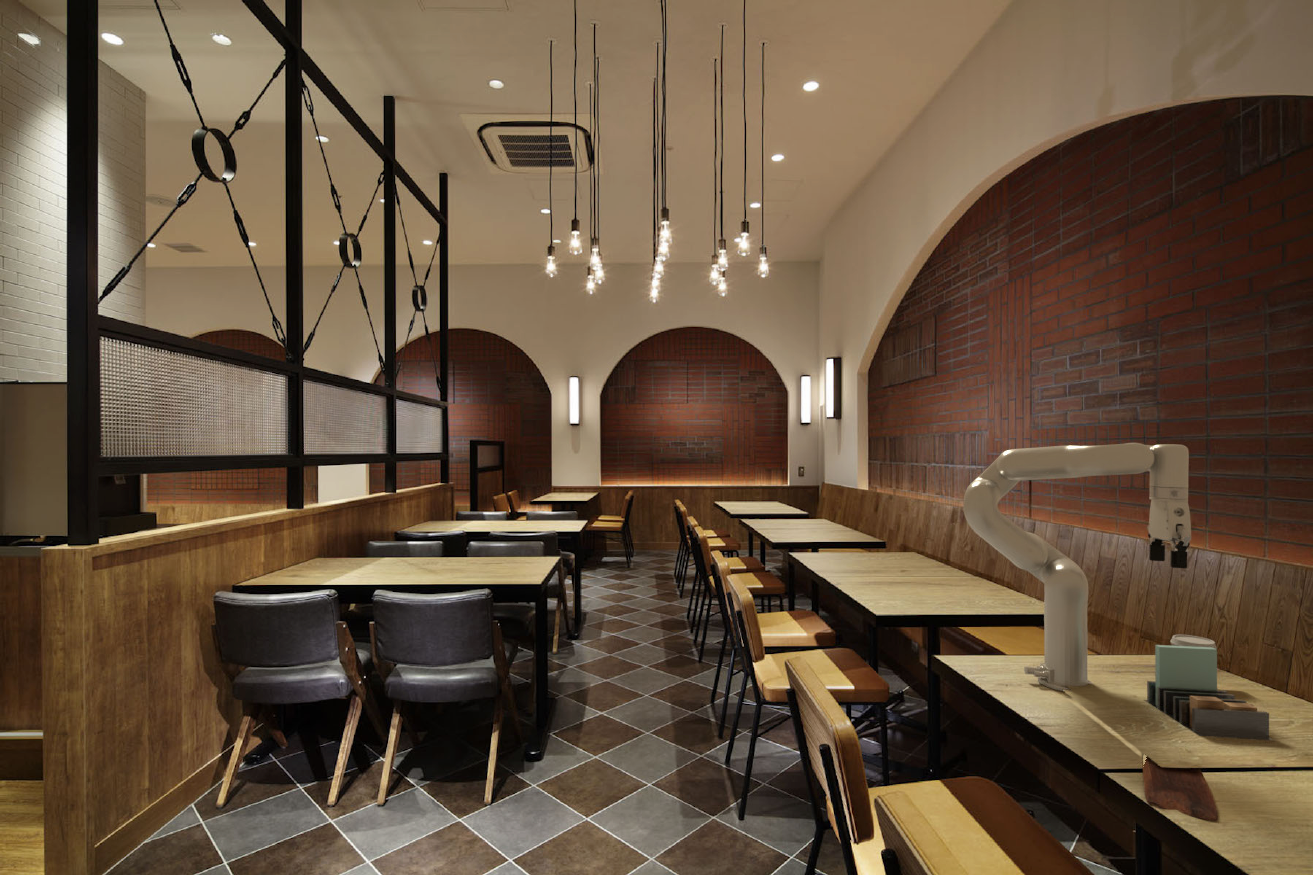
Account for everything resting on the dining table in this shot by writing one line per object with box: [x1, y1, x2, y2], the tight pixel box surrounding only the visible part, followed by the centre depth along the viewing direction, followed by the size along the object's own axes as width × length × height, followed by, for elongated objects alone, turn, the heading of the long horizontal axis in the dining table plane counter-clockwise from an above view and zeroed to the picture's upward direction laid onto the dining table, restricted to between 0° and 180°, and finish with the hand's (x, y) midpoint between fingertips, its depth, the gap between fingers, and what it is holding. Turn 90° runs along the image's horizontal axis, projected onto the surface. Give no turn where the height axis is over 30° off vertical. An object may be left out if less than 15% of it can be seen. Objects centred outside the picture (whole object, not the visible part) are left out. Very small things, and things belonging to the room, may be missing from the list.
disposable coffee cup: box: [1170, 634, 1218, 650], centre depth 172 cm, size 10×10×12 cm
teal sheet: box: [1154, 644, 1218, 706], centre depth 153 cm, size 12×2×14 cm, turn 82°
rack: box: [1143, 680, 1275, 741], centre depth 147 cm, size 14×20×6 cm
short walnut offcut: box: [1223, 702, 1258, 711], centre depth 141 cm, size 5×2×6 cm, turn 82°
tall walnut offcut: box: [1190, 696, 1223, 727], centre depth 142 cm, size 5×2×6 cm, turn 82°
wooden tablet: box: [1142, 755, 1219, 822], centre depth 122 cm, size 26×2×10 cm
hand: (1167, 564), depth 162 cm, fingers open, 9 cm apart
